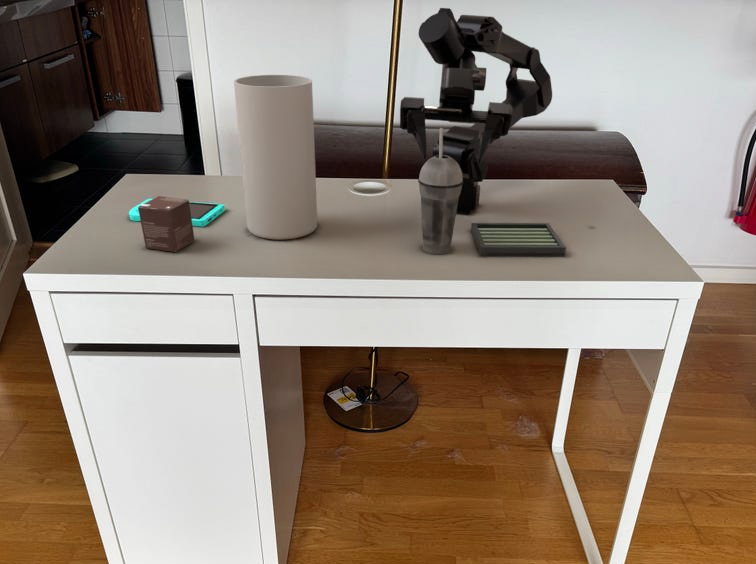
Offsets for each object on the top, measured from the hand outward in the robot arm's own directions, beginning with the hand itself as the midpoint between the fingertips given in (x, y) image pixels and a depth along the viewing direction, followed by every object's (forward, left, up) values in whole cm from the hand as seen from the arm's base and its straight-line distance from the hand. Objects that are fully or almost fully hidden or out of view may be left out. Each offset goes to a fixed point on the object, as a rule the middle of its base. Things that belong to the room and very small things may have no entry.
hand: (452, 159), depth 114 cm
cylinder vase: (-28, -9, -14) cm, 33 cm away
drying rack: (+12, +2, -13) cm, 18 cm away
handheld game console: (-50, -11, -14) cm, 53 cm away
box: (-41, -24, -14) cm, 50 cm away
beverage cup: (0, -7, -14) cm, 15 cm away
